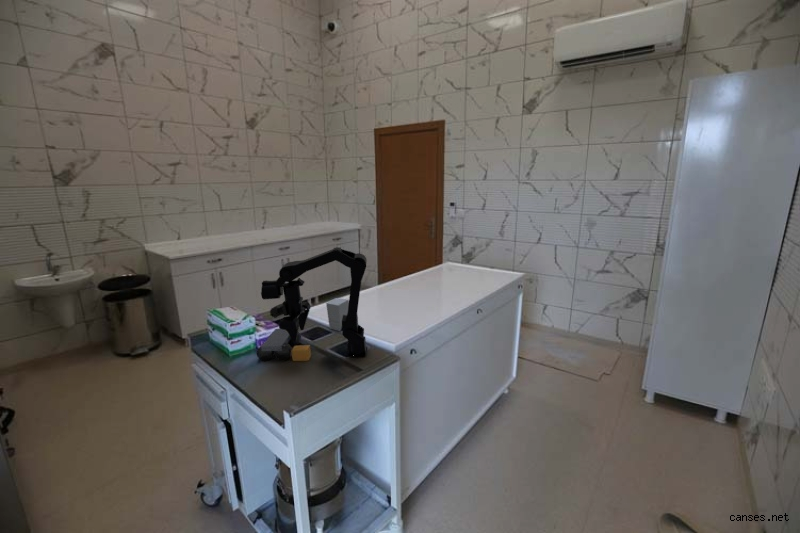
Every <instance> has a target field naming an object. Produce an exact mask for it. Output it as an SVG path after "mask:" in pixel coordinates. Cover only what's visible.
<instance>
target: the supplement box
mask: <svg viewBox="0 0 800 533" xmlns="http://www.w3.org/2000/svg"><path fill="white" fill-rule="evenodd" d="M348 305H349V299H347V298H346V299H344V298H339V297H335V298H333V299H331V300H329V301H328V302H326V309H327V310H326V311H327V313H326V314H327V318H328V319H327V320H328V326H329V329H330V330H334V331H339V332H342V331H341V326H342V318H343V315H347V313H348Z"/></svg>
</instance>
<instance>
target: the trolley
mask: <svg viewBox="0 0 800 533" xmlns="http://www.w3.org/2000/svg"><path fill="white" fill-rule="evenodd" d="M301 339H302V335H301V333H300V332H299V331H298V334H297V339H296V341H292V339H291V337H290V335H289V333H288V332H287V331H286V330H283V329H279V328H275V329H274V330H273V331H272V332H271V333H270V335H269V336H268V337H267V339H266V340H265V341H264V342H263V343H262V344H261V345H260V346H259V347H258V348H257V350H256V356H257V358H258V359H259V360H261V361H263V362H268V361H270V360H271V359H272V358H273V356H275V358H276V359H277V360H279V361H282V362H283V361H287V360H288V359H289V358H290V357H291V356H292V349H293V347H294V346H298V344H299V343H300V341H301Z"/></svg>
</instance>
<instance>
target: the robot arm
mask: <svg viewBox="0 0 800 533" xmlns="http://www.w3.org/2000/svg"><path fill="white" fill-rule="evenodd" d="M335 261H336V262H338V263H340V264H341V265H343V266H344V267H347V268H349V270H350V279H351V282H350V291H349V297H348V300H349V305H348V313H347V315H343V318H342V326H341V331H340V332H341V334H342V336H343V337H344V338H345V339H347V343H346V347H347V353H348V357H349V356H353V355H354V356H358V357H357V358H365V357H366V356H367V351H368V347H367V342H366V336H365V328H364V327H362V326H361V325H360V324H359V317H358V309H359V300H360V293H361V284H362V280H363V277H364V275H365V272H366V268H367V263H368V260H367V257H366V255H364V254H363V253H355V252H354V251H353V252H352V251H349V250H346V249H343V248H340V247H339V246H336V247H333V248H332V249H330V250H328V251H325V252H322V253H319V254H316V255H314V256H311V257H309V258H307V259H303V260H293V261H290V262H289V261H287V262H285V264H284V265H283V266H282V267H281V268H280V269H279V272H278V276H279V277H278V278H277V279H276V280H263V281H261V292H260V294H261V298H262V299H263V300H275V299H281V297H282V296H283V295H284V301H283V302H282V303H279V304H277V305H275V306H273V307H271V308H270V311H269V313H270V314H269V315H270V317H272V318H274V319H276V318H278V317H280V316H282V315H283V316H285V317H283V318H282V319H281V320H280V321H279V322H278V324H277V325H278V329H283V330H286V331H287V332H288V333H289V335H290V337H291V339H292V341H296V339H297V334H298V332H299V329H300V331H304V329H305V326H306V324H307V320H308V316H309V313H310V310H311V304H310V302H308V301H303V300H304V297H303V296H301V294H302V293H301V288H300V287H303V286H304V284H305V280H304V279H301V278H300V277H301V276H302V275H303V274H305V273H306V272H309V271H311V270H314V269H316V268H319V267H323V266H325V265H327V264H330V263H333V262H335ZM295 279H296V280H295Z"/></svg>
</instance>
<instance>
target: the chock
mask: <svg viewBox="0 0 800 533" xmlns="http://www.w3.org/2000/svg"><path fill="white" fill-rule="evenodd" d="M291 356H292V361H293V362H304V361H305V362H306V361H309V360H310V359H311V357H312V351H311V345H310V344H307V345H304V344H303V345H301V344H300V345H296V346H293V347H292V354H291Z"/></svg>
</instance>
